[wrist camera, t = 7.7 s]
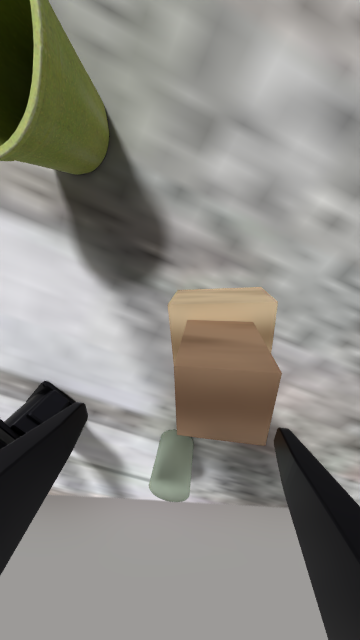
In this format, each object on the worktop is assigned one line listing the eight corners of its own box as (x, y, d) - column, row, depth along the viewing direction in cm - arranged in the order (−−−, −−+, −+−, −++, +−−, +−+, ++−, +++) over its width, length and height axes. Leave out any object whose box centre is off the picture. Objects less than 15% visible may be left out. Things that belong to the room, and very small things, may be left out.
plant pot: (154, 107, 14) (77, -76, 6) (99, 221, 17) (6, 205, 9) (43, 2, 12) (-246, -413, 5) (9, 149, 16) (-184, 60, 8)
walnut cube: (245, 375, 16) (265, 445, 10) (187, 371, 17) (177, 435, 11) (253, 321, 14) (281, 373, 8) (187, 319, 15) (173, 365, 9)
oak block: (253, 357, 21) (266, 390, 16) (183, 355, 22) (175, 385, 17) (260, 286, 18) (277, 302, 13) (178, 289, 19) (167, 304, 14)
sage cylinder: (177, 456, 29) (169, 505, 24) (154, 438, 28) (140, 485, 23) (200, 444, 27) (198, 495, 22) (176, 425, 26) (167, 472, 21)
